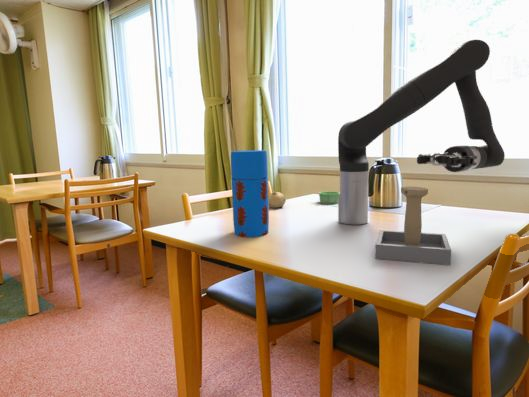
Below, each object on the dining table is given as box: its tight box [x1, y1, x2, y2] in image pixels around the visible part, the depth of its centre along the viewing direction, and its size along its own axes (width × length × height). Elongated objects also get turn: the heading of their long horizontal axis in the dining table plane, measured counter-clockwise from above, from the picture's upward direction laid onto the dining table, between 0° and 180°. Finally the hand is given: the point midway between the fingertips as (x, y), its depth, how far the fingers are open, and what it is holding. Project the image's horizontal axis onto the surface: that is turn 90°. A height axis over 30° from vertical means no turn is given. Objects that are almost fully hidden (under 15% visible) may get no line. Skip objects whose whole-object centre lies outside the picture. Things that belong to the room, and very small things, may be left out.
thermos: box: [230, 149, 270, 238], centre depth 114 cm, size 11×11×25 cm
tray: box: [375, 229, 452, 266], centre depth 93 cm, size 16×14×4 cm
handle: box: [400, 186, 429, 246], centre depth 92 cm, size 5×6×15 cm
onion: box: [268, 191, 287, 209], centre depth 156 cm, size 8×8×7 cm
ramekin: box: [318, 190, 340, 205], centre depth 164 cm, size 9×9×4 cm
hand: (433, 160), depth 101 cm, fingers open, 8 cm apart
